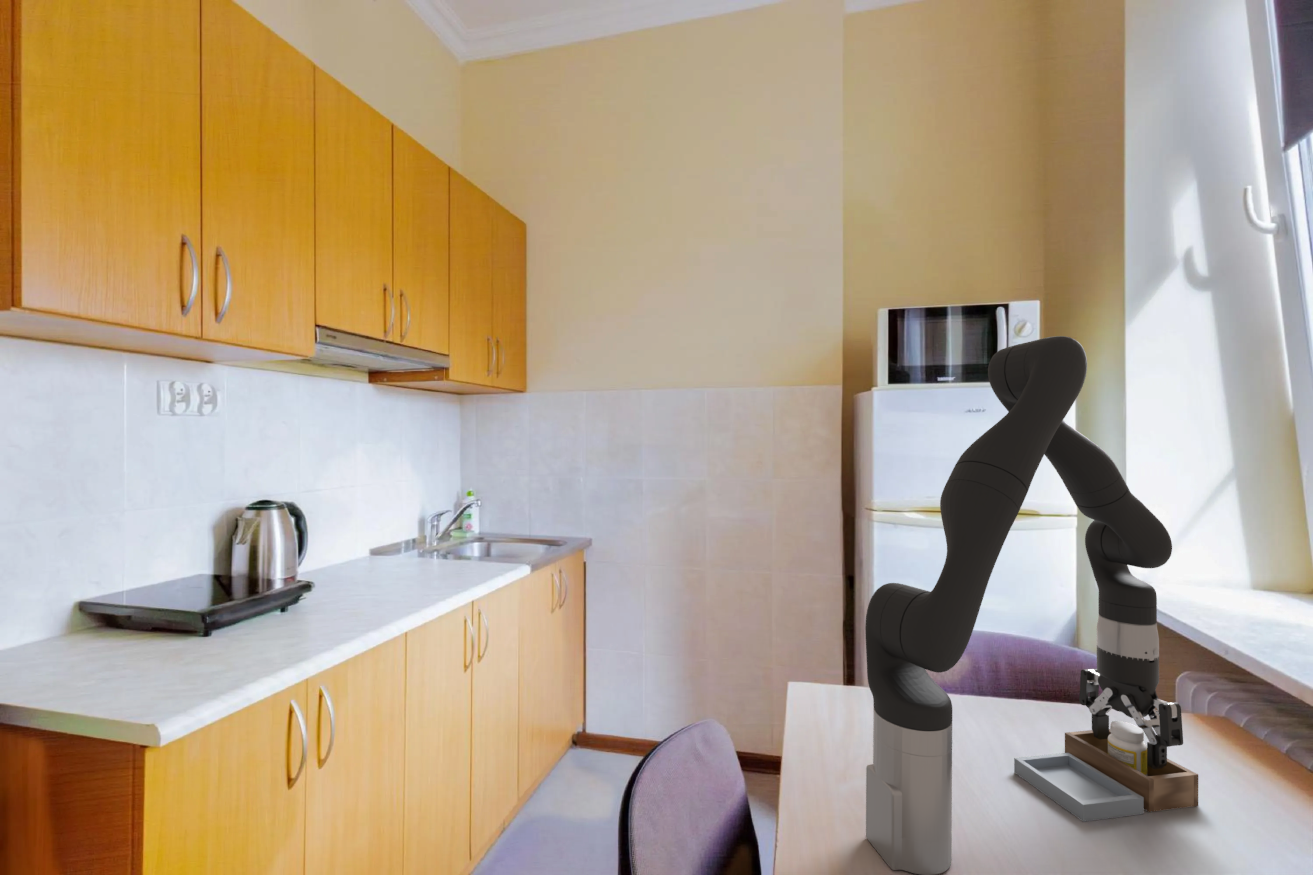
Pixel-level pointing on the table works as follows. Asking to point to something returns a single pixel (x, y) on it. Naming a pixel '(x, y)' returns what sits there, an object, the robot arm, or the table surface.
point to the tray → (1078, 786)
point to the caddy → (1137, 774)
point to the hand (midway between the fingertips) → (1127, 752)
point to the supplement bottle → (1128, 745)
